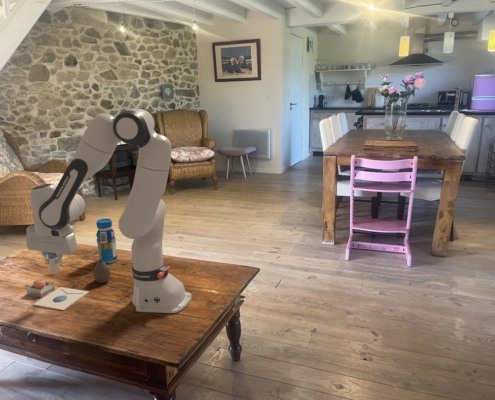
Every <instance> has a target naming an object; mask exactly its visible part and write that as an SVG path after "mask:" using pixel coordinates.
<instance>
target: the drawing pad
mask: <svg viewBox="0 0 495 400" xmlns="http://www.w3.org/2000/svg"><path fill="white" fill-rule="evenodd" d="M89 293H90V291H88V290H81V289H76V288H69V287H62V286H60V287H58V288H56V289H54V290H53V291H51V292H50V293H48V294H46V295H45V296H43V297H42V298H41V299H39V300H38V301H36V302H35V303H33V306H36V307H40V308H41V307H42V308H48V309H53V310H58V311H63V312H64V311H65V310H67V309H68V308H70V307H71V306H72V305H74V304H75V303H76V302H78V301H79V300H81V299H82V298H84V297H85V296H86V295H88V294H89Z"/></svg>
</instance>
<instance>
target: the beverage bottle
mask: <svg viewBox="0 0 495 400" xmlns="http://www.w3.org/2000/svg"><path fill="white" fill-rule="evenodd" d="M112 227H113V221H112V219H111V218H100V219H97V221H96V228H97V231H96V234H95V236H96V243H97V245H96V246H97V251H98V257H99V258H98V259H99V260H98V261H104V263H105V264H110V263H114V262H115V261H117V260H118V251H117V242H116V241H117V239H116V236H115V235H116V232H115V230H114V229H113V228H112Z"/></svg>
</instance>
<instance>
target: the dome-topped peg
mask: <svg viewBox="0 0 495 400" xmlns="http://www.w3.org/2000/svg"><path fill="white" fill-rule="evenodd" d="M47 253H48V258H49V262H48V263H49V270H50V274H57V273H59V272H60V264H56V263H55V259H57V256H56V253H50V252H47Z"/></svg>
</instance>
